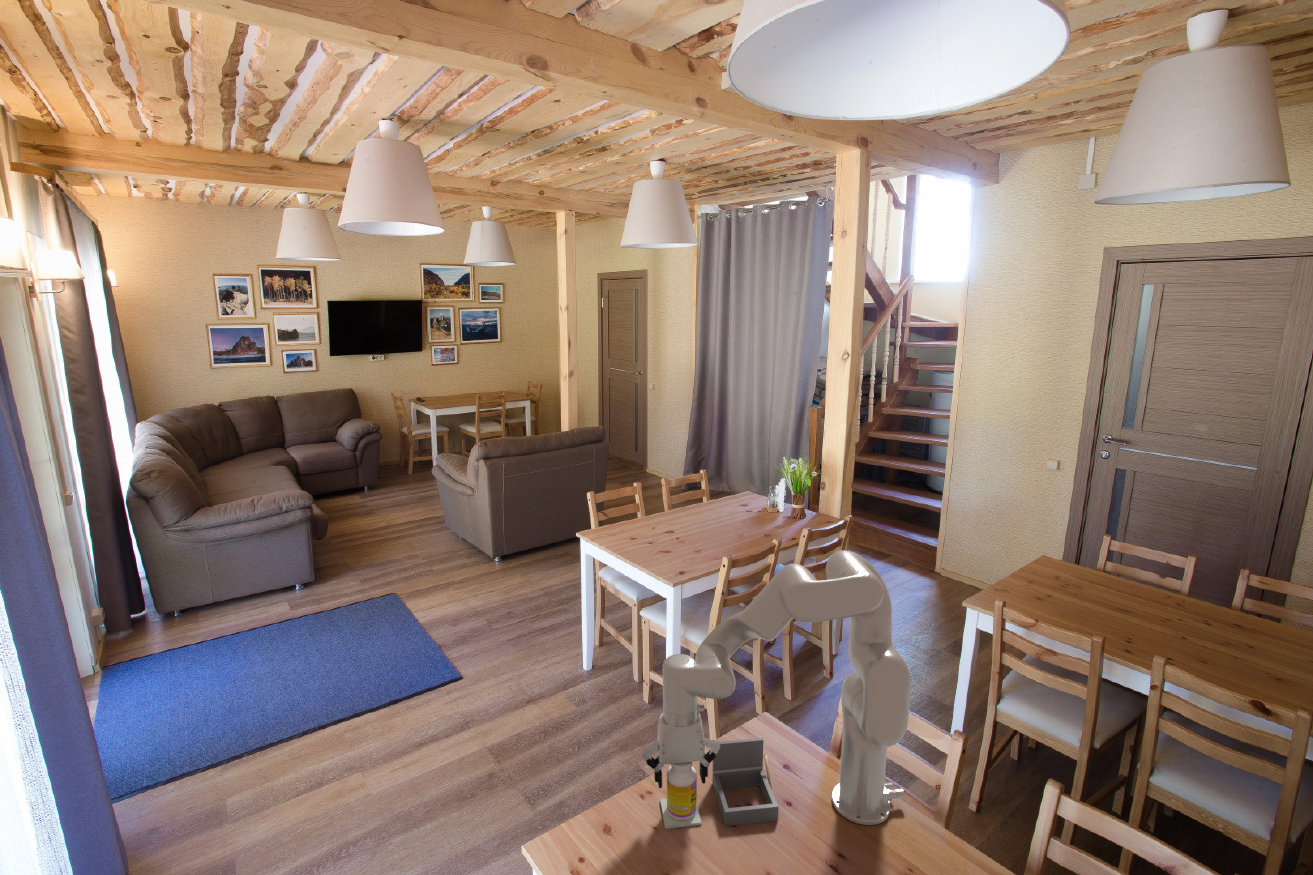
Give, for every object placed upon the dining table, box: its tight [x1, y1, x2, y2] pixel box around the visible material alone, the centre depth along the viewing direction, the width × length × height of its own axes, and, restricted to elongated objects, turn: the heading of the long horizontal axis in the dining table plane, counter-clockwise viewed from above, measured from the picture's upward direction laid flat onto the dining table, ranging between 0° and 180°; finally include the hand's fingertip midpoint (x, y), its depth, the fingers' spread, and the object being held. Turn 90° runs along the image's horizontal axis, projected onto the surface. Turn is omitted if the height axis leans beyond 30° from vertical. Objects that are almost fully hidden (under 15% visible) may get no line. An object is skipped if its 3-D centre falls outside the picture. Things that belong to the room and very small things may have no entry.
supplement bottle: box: [666, 762, 698, 821], centre depth 141 cm, size 7×7×13 cm
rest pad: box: [659, 798, 702, 830], centre depth 143 cm, size 8×8×1 cm
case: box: [711, 737, 779, 827], centre depth 145 cm, size 13×13×11 cm
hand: (681, 781), depth 141 cm, fingers open, 9 cm apart
